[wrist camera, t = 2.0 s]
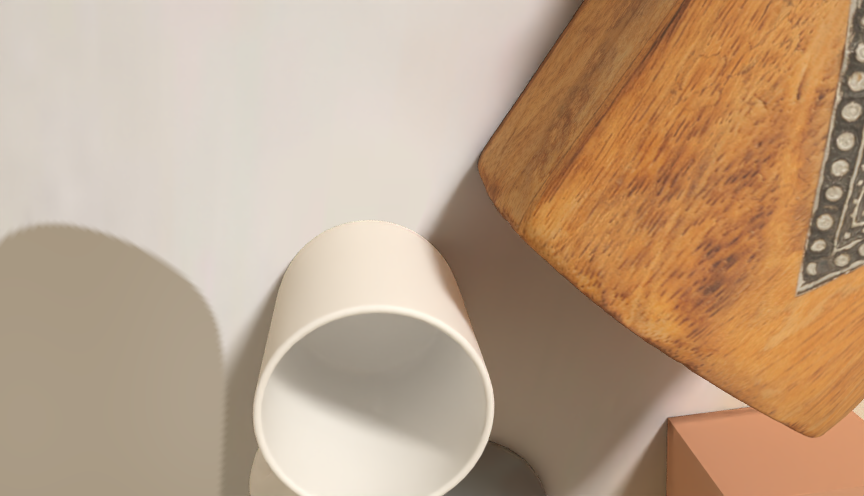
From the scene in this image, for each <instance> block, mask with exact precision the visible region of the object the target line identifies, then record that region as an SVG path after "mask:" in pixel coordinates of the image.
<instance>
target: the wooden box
mask: <svg viewBox="0 0 864 496" xmlns="http://www.w3.org/2000/svg"><path fill="white" fill-rule="evenodd" d="M478 170H479V174H480V176H481V179H482V181H483V184H484V186H485V188H486V191H487V193H488V196H489V197H490V199H491V201H492V202H493V204H494V205H495V207H496V209H497V210H498V212H499V213H500V214H501V215H502V217H503V218H504V219H505V220H507V221H508V222H509V224H510V225H511V227H512V228H513V229H514V230H515V231H516V232H517V233H518V234H519V236H520V237H521V238H522V239H523V240H524V241H525V242H526V243H527V244H528V245H529V246H530V247H531V248H532V249H533V250H534V251H536V252H537V253H538V254H539V255H540V256H541V257H542V258H543V259H544V260H546V261H547V262H548V263H549V264H550V265H551V266H552V267H553V268H554V269H555V270H556V271H558V272H559V273H560V274H561V275H562V276H563V277H565V278H566V279H567V280H568V281H569V282H570V283H572V284H573V285H574V286H575V287H576V288H577V289H578V290H580V291H581V292H582V293H583V294H584V295H586V296H587V297H588V298H589V299H590V300H592V301H593V302H594V303H595V304H597V305H598V306H600V307H601V308H602V309H603V310H604V311H605V312H607V313H608V314H609V315H611V316H612V317H613V318H614V319H616V320H617V321H618V322H619V323H621V324H622V325H624V326H625V327H626V328H628V329H629V330H630V331H632V332H633V333H634V334H636V335H637V336H639V337H640V338H642V339H643V340H645V341H646V342H647V343H649V344H651V345H652V346H654V347H656V348H657V349H659V350H660V351H661V352H663V353H665V354H666V355H668V356H669V357H671V358H672V359H674V360H676V361H677V362H680V363H682V364H683V365H684V366H686V367H687V368H688V369H689V370H691V371H692V372H694V373H696V374H697V375H699V376H701V377H702V378H704V379H705V380H707V381H709V382H710V383H712V384H714V385H715V386H717V387H718V388H720V389H721V390H723V391H725V392H726V393H728V394H730V395H731V396H733V397H735V398H736V399H738V400H740V401H742V402H744V403H745V404H747V405H749V406H750V407H752V408H754V409H755V410H757V411H759V412H761V413H763V414H764V415H766V416H768V417H770V418H771V419H773V420H775V421H777V422H780V423H782V424H783V425H785V426H787V427H789V428H790V429H792V430H794V431H796V432H798V433H800V434H803V435H804V436H807V437H810V438H817V437H820V436H822V435H824V434H825V433H826V432H827V431H829V430H830V429H831V428H832V427H834V426H835V425H836V424H837V423H839V422H840V421H841V420H842V419H843V418H844V417H846V416H847V415H848V414H849V413H850V412H851V411H852V410H853V409H854V408H855V407H856V406H857V405H858V404H859V403H860V402H861V401H862V400H863V399H864V0H584V1H583V3H582V4H581V6H580V7H579V9H578V10H577V12H576V13H575V15H574V16H573V18H572V19H571V21H570V22H569V24H568V25H567V27H566V28H565V30H564V31H563V33H562V34H561V35H560V37H559V38H558V40H557V41H556V43H555V44H554V46H553V47H552V49H551V50H550V52H549V53H548V55H547V56H546V58H545V59H544V61H543V62H542V64H541V65H540V67H539V68H538V70H537V71H536V73H535V74H534V76H533V77H532V79H531V80H530V82H529V83H528V85H527V86H526V88H525V89H524V91H523V92H522V94H521V95H520V97H519V98H518V99H517V101H516V103H515V104H514V105H513V107H512V108H511V110H510V111H509V113H508V114H507V115H506V117H505V118H504V120H503V121H502V123H501V124H500V126H499V127H498V129H497V130H496V132H495V133H494V134H493V136H492V137H491V139H490V140H489V142H488V143H487V145H486V146H485V148H484V150H483V151H482V153H481V155H480V157H479V160H478Z"/></svg>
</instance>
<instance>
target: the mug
mask: <svg viewBox="0 0 864 496" xmlns="http://www.w3.org/2000/svg"><path fill="white" fill-rule="evenodd" d="M252 417H253V426H254V433H255V436H256V440H257V444H258V446H259V447H258V449H257V452H256V455H255V458H254V461H253V464H252V468H251V473H250V479H249V492H250V496H443V495H444V494H445V493H447V492H448V491H450V490H451V489H452V488H454V487H455V486H456V485H457V484H458V483H459V482H460V481H461V480H462V479H464V478H465V477H466V475H467V474H468V473H469V472H470V471H471V469H472V468H473V467H474V466H475V464H476V463H477V461H478V459H479V458H480V456H481V455H482V453H483V451H484V448H485V446H486V444H487V442H488V439H489V436H490V433H491V429H492V425H493V418H494V395H493V387H492V384H491V380H490V377H489V374H488V371H487V368H486V365H485V362H484V359H483V356H482V354H481V351H480V348H479V345H478V342H477V339H476V336H475V334H474V331H473V328H472V325H471V322H470V319H469V316H468V314H467V311H466V308H465V305H464V302H463V299H462V296H461V294H460V291H459V288H458V285H457V282H456V280H455V278H454V275H453V273H452V271H451V269H450V267H449V265H448V264H447V262H446V261H445V259H444V258H443V256H442V255H441V254H440V253H439V252H438V250H437V249H436V248H435V247H434V246H433V245H432V244H431V243H429V242H428V241H427V240H426V239H425V238H423V237H422V236H420V235H419V234H417V233H416V232H414V231H412V230H410V229H408V228H406V227H403V226H400V225H397V224H394V223H390V222H385V221H376V220H363V221H354V222H348V223H345V224H341V225H338V226H335V227H333V228H331V229H328V230H326V231H324V232H323V233H321V234H319V235H318V236H316V237H315V238H313V239H312V240H311V241H310V242H308V243H307V244H306V245H305V246H304V247H303V248H302V249H301V250H300V251H299V252H298V254H297V255H296V256H295V258H294V259H293V260H292V262H291V263H290V265H289V267H288V269H287V271H286V272H285V274H284V277H283V279H282V282H281V285H280V288H279V291H278V295H277V299H276V304H275V308H274V312H273V317H272V321H271V325H270V330H269V334H268V338H267V343H266V347H265V351H264V356H263V360H262V364H261V369H260V373H259V377H258V382H257V386H256V391H255V396H254V401H253V416H252Z"/></svg>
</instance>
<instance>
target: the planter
mask: <svg viewBox="0 0 864 496" xmlns="http://www.w3.org/2000/svg"><path fill="white" fill-rule="evenodd" d="M666 496H864V420H862V419H861V418H860V417H859V416H858V415H857V414H855V413H854V412H853V411H851V412H850V413H849V414H848V415H847V416H846V417H844V418H843V419H842V420H841V421H840V422H839V423H837V424H836V425H835V426H834V427H832V428H831V429H830V430H829V431H827V432H826V433H825V434H824V435H822V436H820V437H817V438H810V437H807V436H804V435H803V434H800V433H798V432H796V431H794V430H792V429H790V428H789V427H787V426H785V425H783V424H782V423H780V422H777V421H775V420H773V419H771V418H770V417H768V416H766V415H764V414H763V413H761V412H759V411H757V410H755V409H754V408H752V407H747V408H739V409H732V410H724V411H716V412H709V413H701V414H694V415H686V416H678V417H671V418H668V433H667V484H666Z"/></svg>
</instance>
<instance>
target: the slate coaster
mask: <svg viewBox="0 0 864 496" xmlns="http://www.w3.org/2000/svg"><path fill="white" fill-rule="evenodd" d="M443 496H546V494H545V491H544V488H543V486H542V484H541V482H540V480H539V478H538V476H537V475H536V473H535V472H534V470H533V469H532V468H531V467H530V466H529V464H528V463H527V462H526V461H525V460H523V459H522V458H521V457H520V456H518V455H517V454H516V453H514V452H512V451H511V450H509V449H507V448H505V447H503V446H501V445H498V444H496V443H493V442H489V441H488V442H487V444H486V446H485V448H484V451H483V453H482V455H481V456H480V458H479V459H478V461H477V463H476V464H475V466H474V467H473V468H472V469H471V471H470V472H469V473H468V474H467V475H466V477H465V478H464V479H462V480H461V481H460V482H459V483H458V484H457V485H456V486H455V487H454V488H452V489H451V490H450V491H448V492H447V493H445V494H444V495H443Z"/></svg>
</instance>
